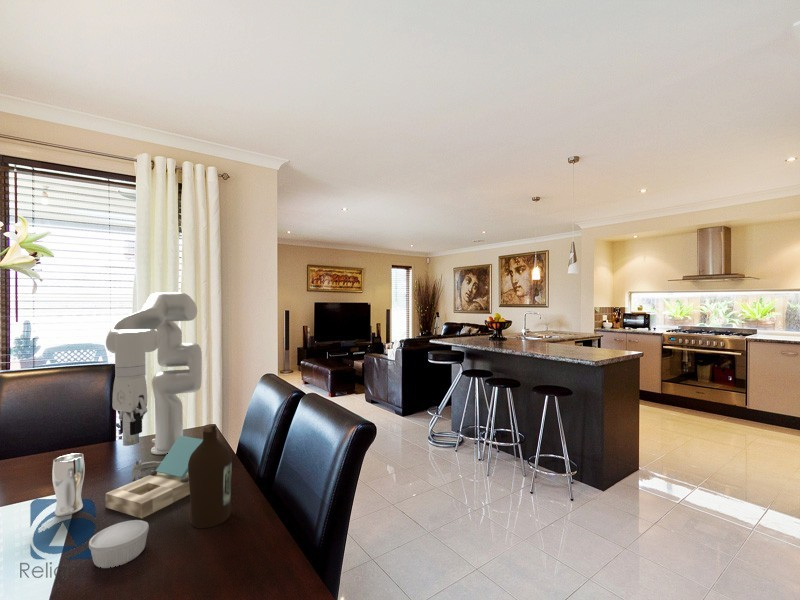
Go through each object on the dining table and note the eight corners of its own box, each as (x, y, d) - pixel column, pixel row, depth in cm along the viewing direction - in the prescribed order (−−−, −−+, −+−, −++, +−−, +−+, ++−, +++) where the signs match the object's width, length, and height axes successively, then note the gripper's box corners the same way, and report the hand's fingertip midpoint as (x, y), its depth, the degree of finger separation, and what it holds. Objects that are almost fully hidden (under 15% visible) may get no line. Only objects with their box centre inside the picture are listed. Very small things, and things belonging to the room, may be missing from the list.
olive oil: (183, 533, 97) (182, 433, 98) (194, 511, 108) (193, 421, 108) (229, 526, 100) (227, 429, 100) (235, 505, 110) (234, 418, 111)
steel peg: (119, 444, 115) (119, 411, 115) (133, 440, 119) (133, 407, 119) (128, 446, 113) (127, 412, 114) (142, 442, 117) (141, 409, 117)
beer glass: (91, 505, 112) (90, 454, 112) (64, 518, 105) (63, 463, 105) (73, 503, 114) (72, 452, 114) (46, 515, 107) (45, 461, 107)
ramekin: (86, 556, 89) (85, 533, 89) (143, 535, 97) (142, 514, 97) (92, 580, 81) (92, 554, 81) (154, 555, 89) (153, 532, 89)
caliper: (133, 481, 128) (133, 462, 128) (132, 481, 128) (131, 462, 128) (194, 460, 145) (194, 443, 145) (192, 459, 146) (192, 442, 146)
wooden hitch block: (105, 507, 111) (105, 489, 111) (176, 475, 131) (176, 460, 131) (142, 518, 104) (142, 499, 105) (211, 483, 125) (210, 467, 125)
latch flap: (157, 472, 123) (155, 470, 122) (181, 436, 131) (179, 435, 130) (183, 478, 118) (181, 476, 118) (207, 441, 126) (205, 439, 126)
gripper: (100, 372, 117) (101, 433, 116) (134, 375, 110) (135, 440, 109) (127, 368, 123) (127, 426, 123) (160, 371, 116) (161, 432, 116)
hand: (131, 432), depth 116 cm, fingers closed on steel peg, 4 cm apart
